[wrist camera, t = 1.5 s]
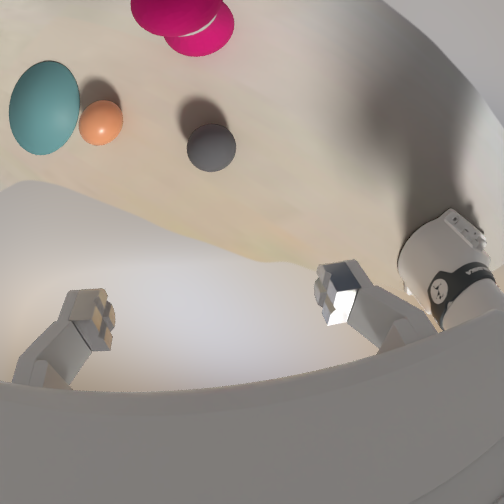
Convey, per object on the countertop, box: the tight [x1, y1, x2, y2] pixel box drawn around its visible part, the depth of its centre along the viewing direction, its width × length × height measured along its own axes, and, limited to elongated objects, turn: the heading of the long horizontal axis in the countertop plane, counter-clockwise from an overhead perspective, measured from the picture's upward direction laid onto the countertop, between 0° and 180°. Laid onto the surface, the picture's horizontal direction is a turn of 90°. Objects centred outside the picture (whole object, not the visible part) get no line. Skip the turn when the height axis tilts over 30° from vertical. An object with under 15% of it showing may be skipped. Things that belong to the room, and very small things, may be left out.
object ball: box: [79, 100, 123, 145], centre depth 28 cm, size 6×6×6 cm
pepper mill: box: [131, 0, 234, 57], centre depth 17 cm, size 7×7×20 cm
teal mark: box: [9, 61, 80, 155], centre depth 27 cm, size 14×14×1 cm
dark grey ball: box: [187, 124, 236, 172], centre depth 31 cm, size 6×6×6 cm
